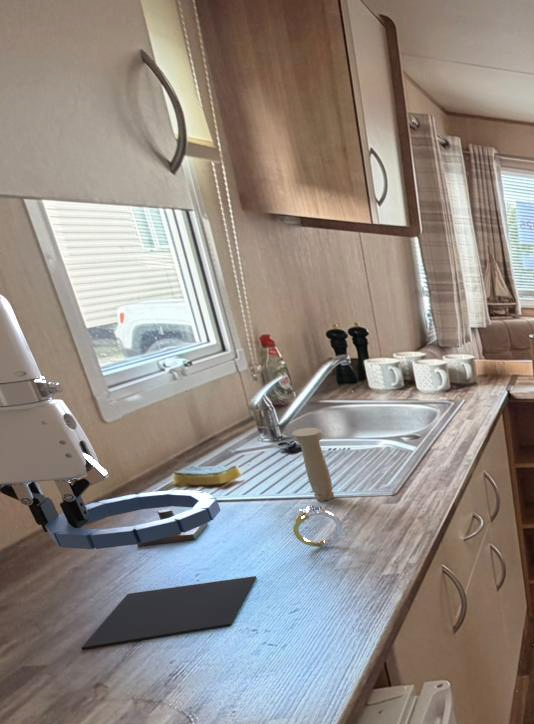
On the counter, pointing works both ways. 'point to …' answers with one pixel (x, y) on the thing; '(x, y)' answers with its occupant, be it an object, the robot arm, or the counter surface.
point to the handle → (315, 462)
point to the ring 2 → (311, 512)
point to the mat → (172, 612)
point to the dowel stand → (176, 538)
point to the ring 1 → (199, 515)
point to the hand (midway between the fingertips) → (66, 525)
